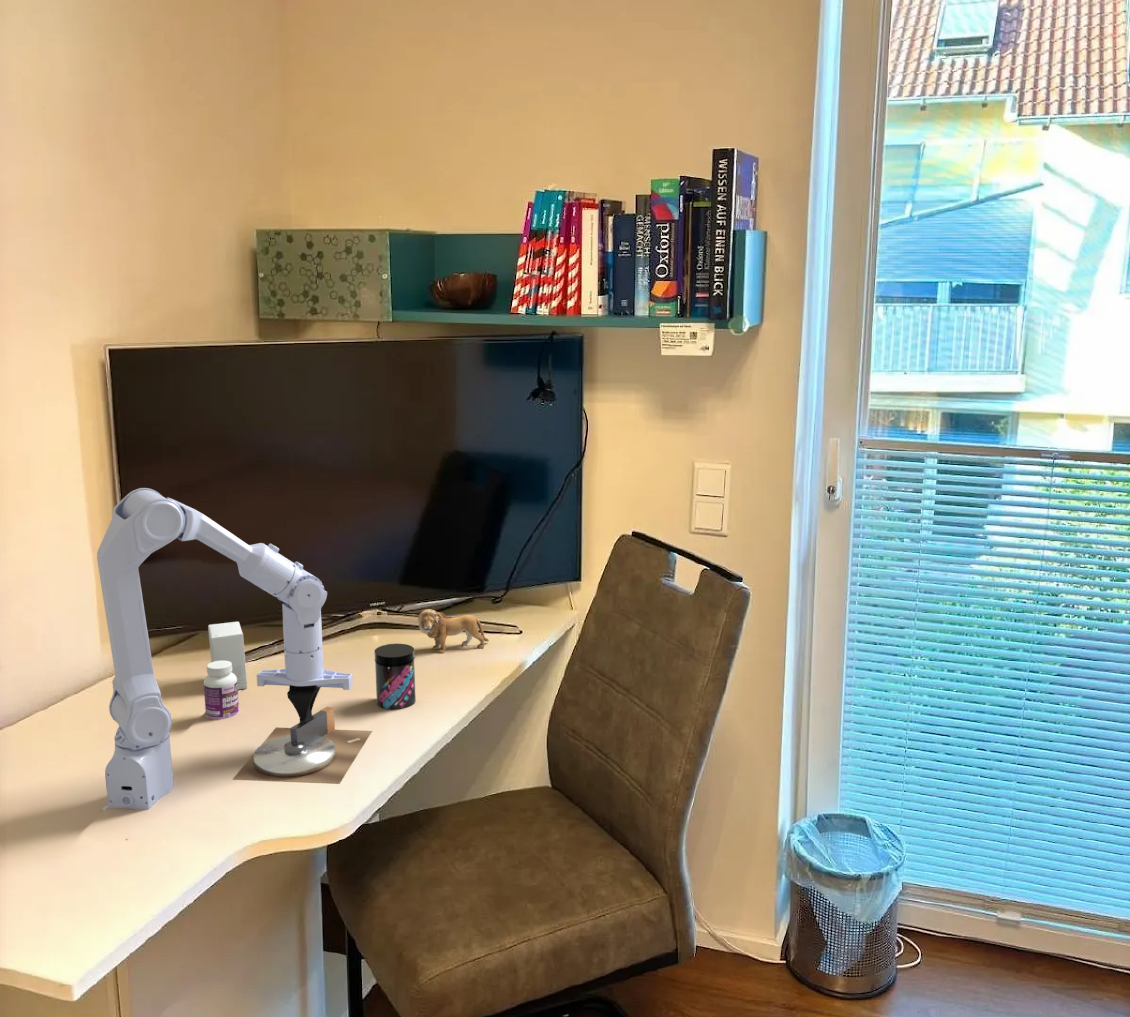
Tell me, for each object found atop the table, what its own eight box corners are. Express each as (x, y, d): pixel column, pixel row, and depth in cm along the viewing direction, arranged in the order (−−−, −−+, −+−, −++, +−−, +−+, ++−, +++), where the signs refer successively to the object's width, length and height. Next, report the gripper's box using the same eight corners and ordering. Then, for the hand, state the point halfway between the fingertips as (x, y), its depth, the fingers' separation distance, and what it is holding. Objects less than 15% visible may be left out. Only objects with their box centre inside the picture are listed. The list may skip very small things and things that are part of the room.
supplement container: (369, 712, 180) (367, 654, 178) (387, 697, 186) (384, 641, 184) (406, 717, 178) (404, 659, 176) (422, 702, 184) (420, 645, 182)
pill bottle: (229, 726, 175) (225, 671, 173) (200, 723, 176) (195, 669, 174) (245, 713, 180) (241, 659, 178) (217, 710, 181) (212, 657, 179)
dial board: (339, 789, 153) (339, 782, 153) (233, 785, 154) (232, 778, 154) (372, 736, 171) (372, 730, 170) (276, 733, 172) (275, 726, 172)
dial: (300, 783, 153) (299, 752, 152) (236, 766, 158) (234, 736, 157) (363, 742, 166) (361, 713, 165) (302, 728, 171) (300, 700, 170)
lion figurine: (424, 658, 205) (422, 614, 203) (415, 650, 210) (413, 607, 208) (493, 647, 212) (493, 604, 210) (483, 639, 216) (482, 596, 214)
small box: (247, 689, 190) (243, 633, 188) (215, 693, 188) (210, 637, 186) (243, 674, 197) (239, 620, 195) (212, 678, 195) (207, 624, 193)
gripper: (356, 640, 165) (359, 720, 168) (266, 636, 166) (270, 716, 169) (344, 656, 158) (347, 739, 161) (249, 652, 159) (254, 735, 162)
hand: (307, 729), depth 165 cm, fingers closed, pressing on dial
